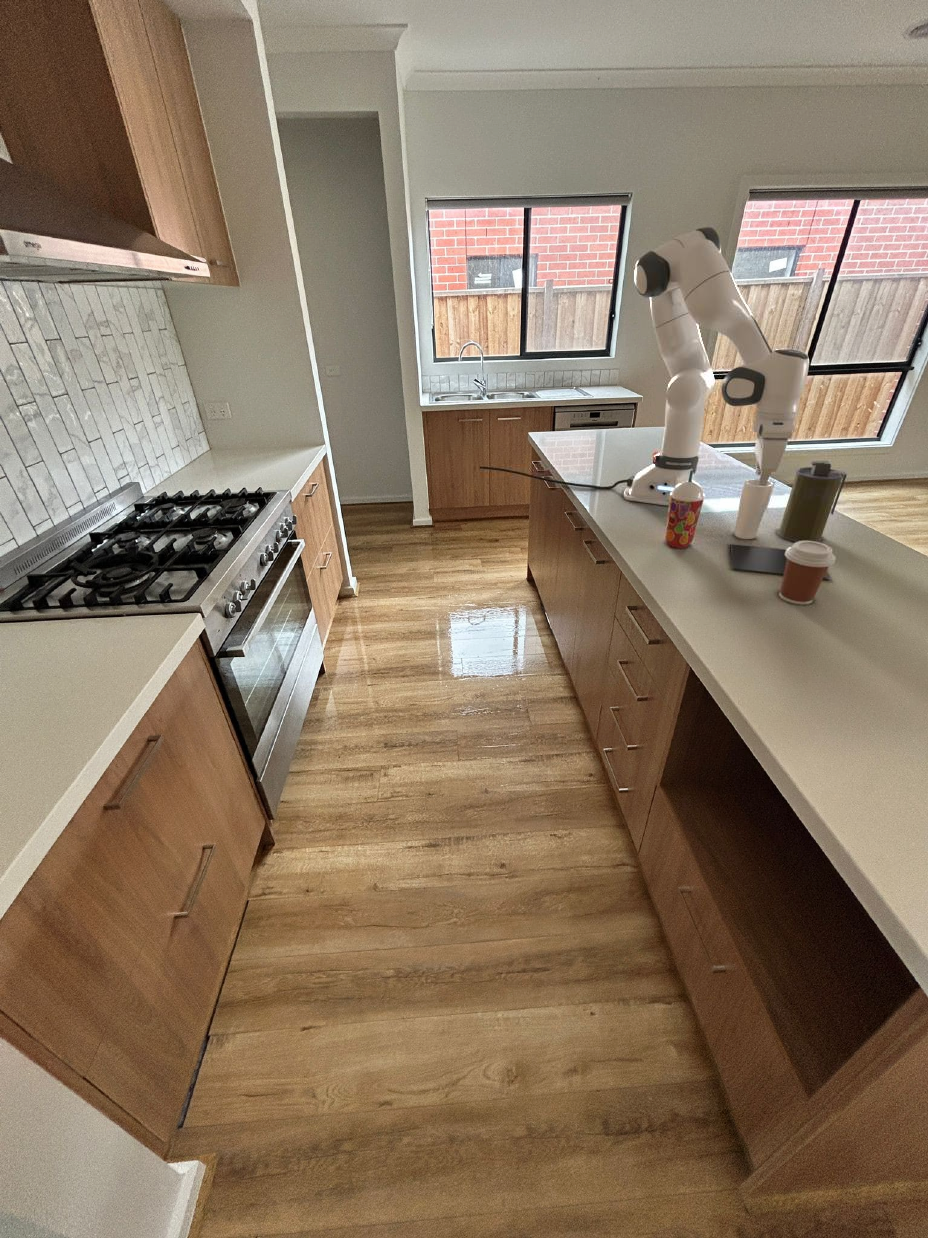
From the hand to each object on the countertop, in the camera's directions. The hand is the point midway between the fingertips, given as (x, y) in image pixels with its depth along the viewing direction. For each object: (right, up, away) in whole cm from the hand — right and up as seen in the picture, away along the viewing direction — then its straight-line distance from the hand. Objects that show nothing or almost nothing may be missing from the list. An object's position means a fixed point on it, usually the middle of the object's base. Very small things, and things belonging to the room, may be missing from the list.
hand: (760, 479), depth 132 cm
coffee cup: (-4, -32, -20) cm, 37 cm away
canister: (+15, -14, +7) cm, 22 cm away
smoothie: (-19, -16, +6) cm, 25 cm away
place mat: (+1, -22, -5) cm, 23 cm away
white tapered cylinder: (+1, -14, +9) cm, 16 cm away
